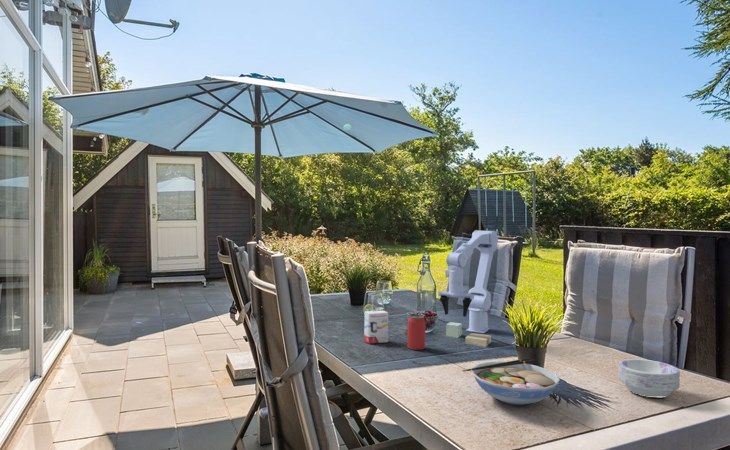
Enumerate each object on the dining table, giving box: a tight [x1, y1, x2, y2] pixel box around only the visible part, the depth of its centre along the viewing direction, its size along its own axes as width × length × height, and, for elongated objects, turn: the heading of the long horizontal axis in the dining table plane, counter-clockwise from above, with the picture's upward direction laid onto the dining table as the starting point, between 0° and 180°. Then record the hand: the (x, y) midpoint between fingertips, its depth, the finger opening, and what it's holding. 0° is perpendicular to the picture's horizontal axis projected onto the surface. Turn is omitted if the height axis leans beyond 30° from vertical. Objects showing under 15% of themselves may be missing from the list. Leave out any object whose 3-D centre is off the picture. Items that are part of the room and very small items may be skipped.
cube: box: [445, 322, 463, 339], centre depth 202 cm, size 5×5×5 cm
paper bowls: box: [617, 358, 681, 397], centre depth 139 cm, size 15×15×8 cm
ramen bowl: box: [461, 357, 561, 406], centre depth 132 cm, size 25×23×8 cm
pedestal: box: [464, 332, 492, 348], centre depth 191 cm, size 8×8×3 cm
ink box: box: [363, 310, 389, 345], centre depth 190 cm, size 9×5×12 cm, turn 113°
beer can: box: [406, 314, 427, 351], centre depth 182 cm, size 7×7×12 cm
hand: (455, 315), depth 198 cm, fingers open, 7 cm apart
